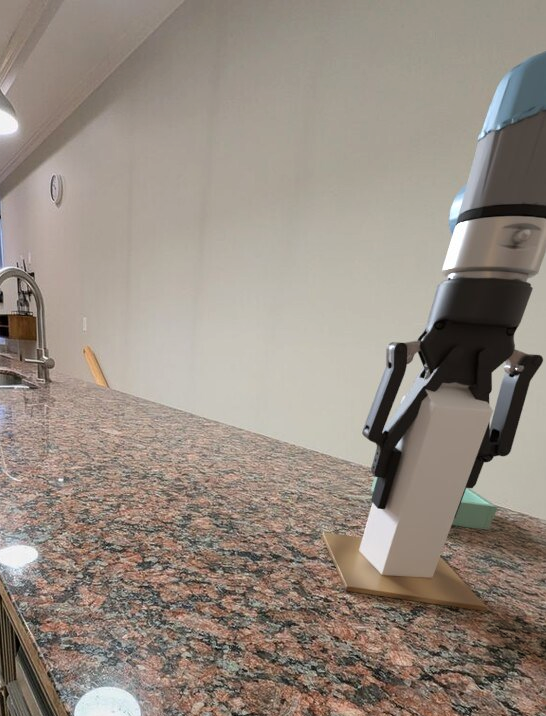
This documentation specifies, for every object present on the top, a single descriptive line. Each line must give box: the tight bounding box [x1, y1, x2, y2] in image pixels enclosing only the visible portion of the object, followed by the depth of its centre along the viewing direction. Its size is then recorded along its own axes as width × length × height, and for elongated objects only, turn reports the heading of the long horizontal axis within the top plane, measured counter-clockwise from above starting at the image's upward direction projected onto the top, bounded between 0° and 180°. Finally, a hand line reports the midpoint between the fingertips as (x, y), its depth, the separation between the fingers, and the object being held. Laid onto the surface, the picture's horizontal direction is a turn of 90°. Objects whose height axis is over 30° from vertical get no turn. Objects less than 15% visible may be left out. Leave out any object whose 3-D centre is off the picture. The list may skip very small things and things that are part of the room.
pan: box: [370, 476, 498, 531], centre depth 74 cm, size 14×14×4 cm
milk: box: [359, 370, 494, 578], centre depth 49 cm, size 6×6×22 cm
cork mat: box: [321, 532, 488, 612], centre depth 53 cm, size 14×14×1 cm
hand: (411, 508), depth 50 cm, fingers closed on milk, 7 cm apart
